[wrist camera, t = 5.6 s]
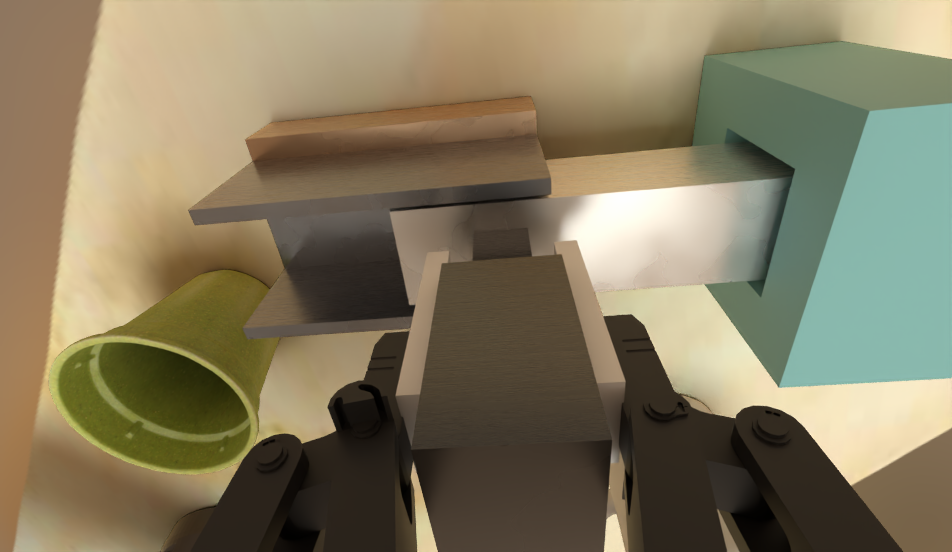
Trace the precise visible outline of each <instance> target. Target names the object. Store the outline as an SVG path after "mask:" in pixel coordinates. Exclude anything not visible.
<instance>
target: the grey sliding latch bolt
mask: <svg viewBox="0 0 952 552" xmlns="http://www.w3.org/2000/svg"><path fill="white" fill-rule="evenodd" d="M546 163H547V166H548V169H549V173H550V176H551V192H552V194H551V195H540V196H528V197H516V198H505V199H493V200H482V201H470V202H459V203H447V204H436V205H424V206H412V207H401V208H391V209H390V217H391V221H392V226H393V231H394V235H395V240H396V245H397V249H398V254H399V259H400V263H401V268H402V272H403V277H404V282H405V286H406V291H407V296H408V300H409V305H416V301H417V297H418V292H419V288H420V283H421V279H422V274H423V270H424V265H425V261H426V256H427V253H428V252H440V251H449V252H450V258H451V263H442V264H441V270H440V277H439V283H438V289H437V295H436V301H435V307H434V313H433V319H432V325H431V331H430V337H429V343H428V349H427V355H426V361H425V367H424V373H423V379H422V385H421V391H420V397H419V404H418V410H417V416H416V422H415V428H414V434H413V440H412V446H411V452H412V456H413V460H414V463H415V467H416V471H417V475H418V478H419V482H420V486H421V490H422V493H423V497H424V501H425V505H426V508H427V512H428V516H429V520H430V523H431V527H432V531H433V535H434V538H435V542H436V546H437V550H438V552H604V542H605V529H606V516H607V503H608V489H609V476H610V463H611V450H612V437H611V433H610V430H609V426H608V422H607V419H606V415H605V411H604V408H603V404H602V400H601V397H600V393H599V389H598V385H597V382H596V378H595V374H594V371H593V367H592V363H591V360H590V356H589V352H588V349H587V345H586V341H585V338H584V334H583V330H582V327H581V323H580V319H579V316H578V312H577V308H576V305H575V301H574V297H573V294H572V290H571V286H570V283H569V279H568V275H567V272H566V268H565V264H564V261H563V257H562V254H556V255H554V242H560V241H572V240H577V243H578V246H579V249H580V251H581V254H582V257H583V260H584V263H585V266H586V269H587V272H588V274H589V277H590V280H591V283H592V286H593V289H594V292H600V291H614V290H629V289H643V288H657V287H671V286H685V285H699V284H713V283H727V282H741V281H755V280H766V278H767V274H768V270H769V266H770V263H771V259H772V255H773V251H774V247H775V244H776V240H777V236H778V232H779V228H780V225H781V221H782V217H783V213H784V209H785V206H786V202H787V198H788V194H789V191H790V187H791V183H792V179H793V175H794V172H795V168H793V167H791V166H790V165H788V164H786V163H785V162H783V161H781V160H780V159H778V158H776V157H775V156H773V155H771V154H770V153H768V152H766V151H765V150H763V149H761V148H760V147H758V146H756V145H755V144H753V143H752V142H750V141H746V142H735V143H724V144H713V145H703V146H692V147H681V148H670V149H659V150H648V151H637V152H626V153H615V154H604V155H594V156H583V157H572V158H561V159H550V160H546Z"/></svg>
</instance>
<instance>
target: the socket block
mask: <svg viewBox="0 0 952 552" xmlns="http://www.w3.org/2000/svg"><path fill="white" fill-rule="evenodd" d="M746 141H750V142H752V143H753V144H755V145H756V146H758V147H760V148H761V149H763V150H765V151H766V152H768V153H770V154H771V155H773V156H775V157H776V158H778V159H780V160H781V161H783V162H785V163H786V164H788V165H790V166H791V167H793V168H795V172H794V175H793V179H792V183H791V187H790V191H789V194H788V198H787V202H786V206H785V209H784V213H783V217H782V221H781V225H780V228H779V232H778V236H777V240H776V244H775V247H774V251H773V255H772V259H771V263H770V266H769V270H768V274H767V278H766V280H755V281H741V282H727V283H713V284H705V286H706V287H707V288H708V290H709V291H710V292H711V294H712V295H713V297H714V298H715V299H716V301H717V302H718V304H719V305H720V306H721V308H722V309H723V311H724V312H725V313H726V315H727V316H728V317H729V319H730V320H731V322H732V323H733V324H734V326H735V327H736V329H737V330H738V331H739V333H740V334H741V336H742V337H743V338H744V340H745V341H746V343H747V344H748V345H749V347H750V348H751V349H752V351H753V352H754V354H755V355H756V356H757V358H758V359H759V361H760V362H761V363H762V365H763V366H764V368H765V369H766V370H767V372H768V373H769V374H770V376H771V377H772V379H773V380H774V381H775V383H776V384H777V386H778V387H779V388H782V387H800V386H818V385H836V384H854V383H872V382H890V381H908V380H926V379H945V378H951V377H952V59H947V58H941V57H935V56H929V55H923V54H916V53H910V52H904V51H898V50H892V49H886V48H880V47H874V46H868V45H862V44H856V43H850V42H843V41H840V42H830V43H821V44H811V45H802V46H792V47H783V48H773V49H763V50H754V51H744V52H735V53H725V54H716V55H706V56H705V57H704V64H703V71H702V78H701V85H700V92H699V99H698V107H697V114H696V121H695V128H694V135H693V142H692V146H703V145H713V144H724V143H735V142H746Z"/></svg>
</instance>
